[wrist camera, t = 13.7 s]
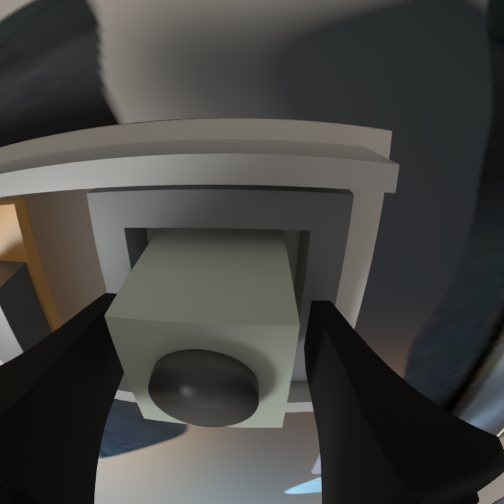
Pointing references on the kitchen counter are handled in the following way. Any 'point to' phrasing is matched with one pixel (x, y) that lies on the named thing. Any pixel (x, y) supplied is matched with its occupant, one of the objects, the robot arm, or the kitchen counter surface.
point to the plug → (209, 327)
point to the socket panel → (205, 203)
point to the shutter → (22, 285)
